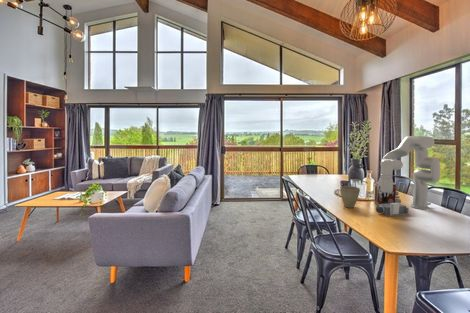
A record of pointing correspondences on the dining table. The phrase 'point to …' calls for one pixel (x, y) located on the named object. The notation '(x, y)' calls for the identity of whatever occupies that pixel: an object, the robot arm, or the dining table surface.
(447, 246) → the dining table surface
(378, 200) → the dark red boxy piece
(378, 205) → the housing
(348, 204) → the plant pot
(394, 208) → the off-white foam block
